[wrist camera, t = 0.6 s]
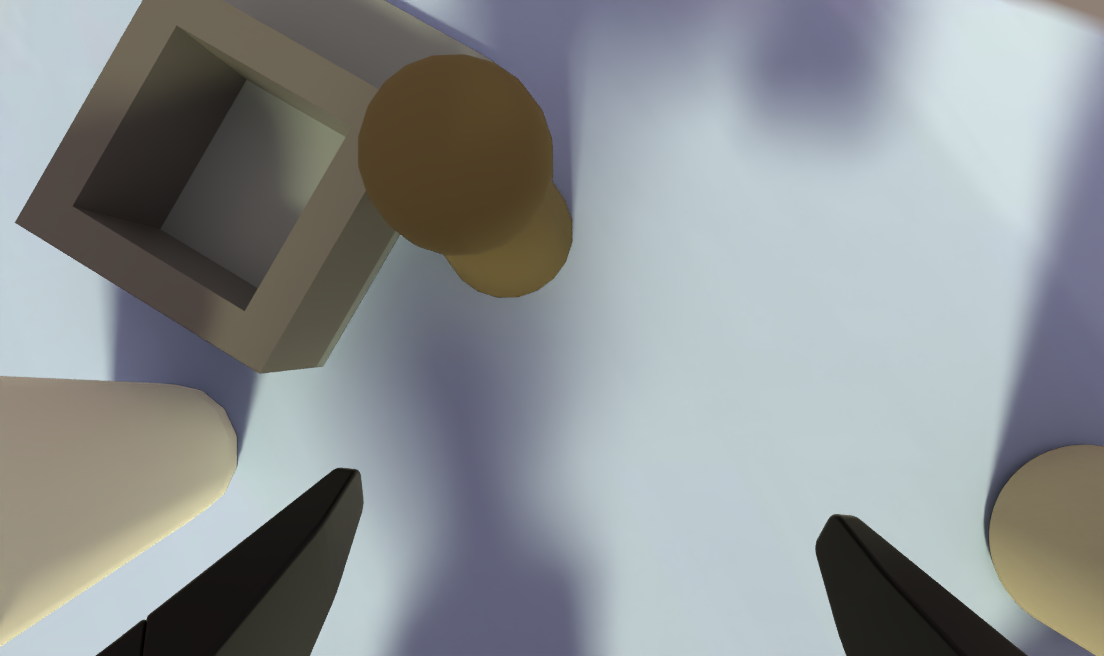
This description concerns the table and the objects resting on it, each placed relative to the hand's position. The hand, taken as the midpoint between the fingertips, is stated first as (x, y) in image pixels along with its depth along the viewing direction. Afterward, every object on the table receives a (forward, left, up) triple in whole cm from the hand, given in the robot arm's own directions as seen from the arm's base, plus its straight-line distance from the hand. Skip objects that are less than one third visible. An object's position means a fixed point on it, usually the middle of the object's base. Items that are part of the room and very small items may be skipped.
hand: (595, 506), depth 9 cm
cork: (+5, +7, -13) cm, 16 cm away
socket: (+3, +19, -13) cm, 24 cm away
